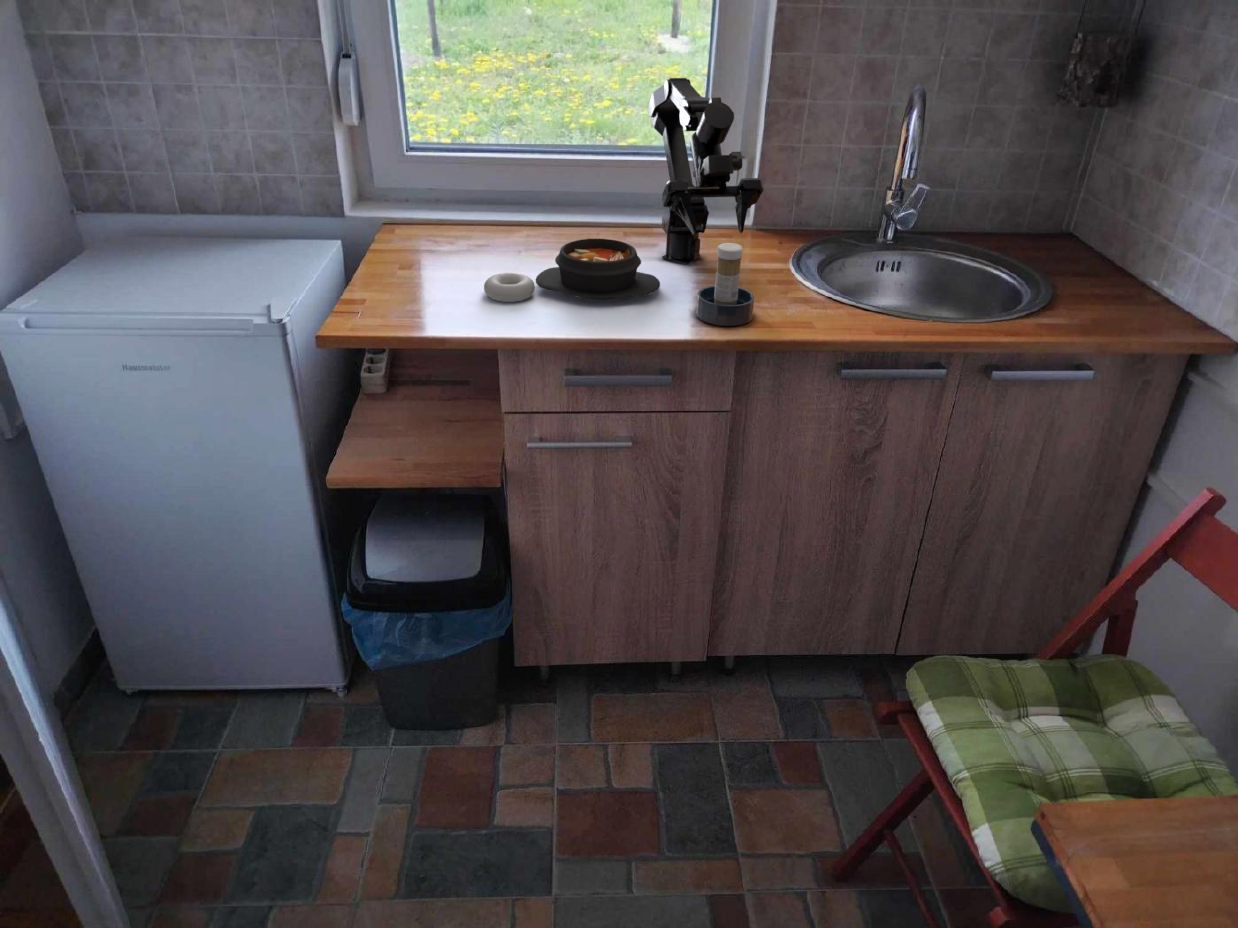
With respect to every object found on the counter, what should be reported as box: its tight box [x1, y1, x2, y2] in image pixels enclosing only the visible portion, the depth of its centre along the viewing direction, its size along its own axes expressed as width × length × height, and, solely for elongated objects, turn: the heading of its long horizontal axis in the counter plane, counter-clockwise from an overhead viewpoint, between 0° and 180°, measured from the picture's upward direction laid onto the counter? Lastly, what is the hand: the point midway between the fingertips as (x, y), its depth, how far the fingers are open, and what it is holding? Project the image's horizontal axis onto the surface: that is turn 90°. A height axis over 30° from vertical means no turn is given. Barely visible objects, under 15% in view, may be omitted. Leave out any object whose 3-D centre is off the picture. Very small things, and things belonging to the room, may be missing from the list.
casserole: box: [535, 238, 661, 301], centre depth 182 cm, size 25×19×8 cm
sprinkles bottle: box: [714, 242, 744, 305], centre depth 171 cm, size 5×5×14 cm
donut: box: [483, 272, 536, 303], centre depth 180 cm, size 10×4×10 cm
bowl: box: [695, 285, 755, 327], centre depth 173 cm, size 11×11×4 cm
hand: (718, 233), depth 174 cm, fingers open, 9 cm apart
